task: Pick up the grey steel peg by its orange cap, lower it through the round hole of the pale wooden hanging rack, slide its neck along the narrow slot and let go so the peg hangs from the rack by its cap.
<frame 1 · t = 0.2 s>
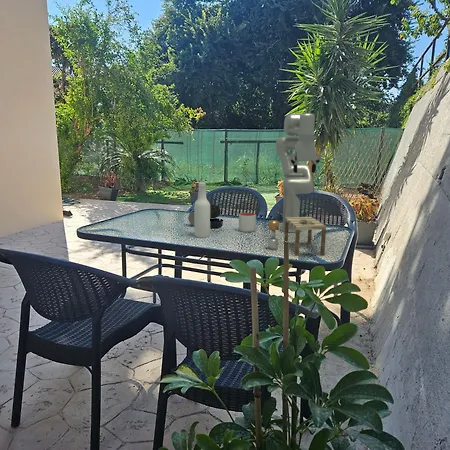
hand: (304, 172, 206), 37 cm above the table, tool pointing down, fingers open, 9 cm apart
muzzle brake: (204, 223, 257), on the table
alcohol: (202, 236, 223), on the table
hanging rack: (303, 249, 199), on the table
cup: (247, 231, 236), on the table
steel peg: (272, 248, 199), on the table
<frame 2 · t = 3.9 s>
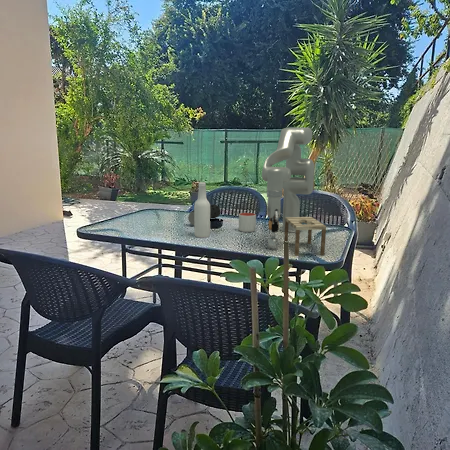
hand: (273, 230, 197), 9 cm above the table, tool pointing down, fingers closed on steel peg, 5 cm apart
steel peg: (272, 248, 199), on the table, touching gripper
everything else where it was.
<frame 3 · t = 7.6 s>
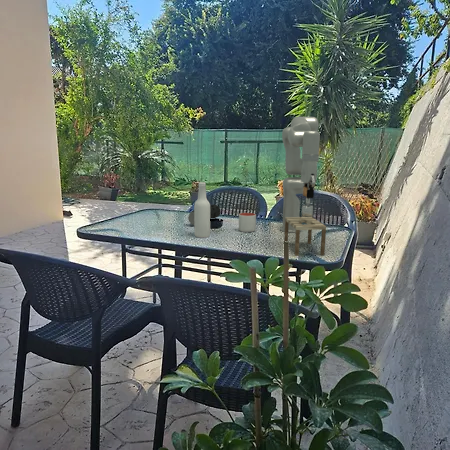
hand: (308, 196, 189), 27 cm above the table, tool pointing down, fingers closed on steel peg, 5 cm apart
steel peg: (307, 216, 191), point 17 cm above the table, touching gripper
everything else where it was.
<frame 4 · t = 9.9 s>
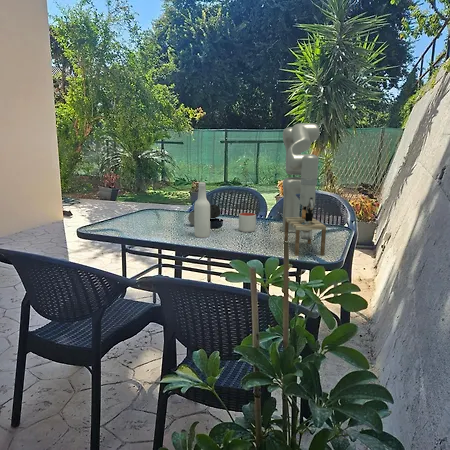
hand: (306, 219, 192), 16 cm above the table, tool pointing down, fingers closed on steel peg, 5 cm apart
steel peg: (305, 238, 194), point 6 cm above the table, touching gripper
everything else where it was.
when the fingers open (16 cm above the table, at t = 11.7 s): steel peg drops 2 cm, resting on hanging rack.
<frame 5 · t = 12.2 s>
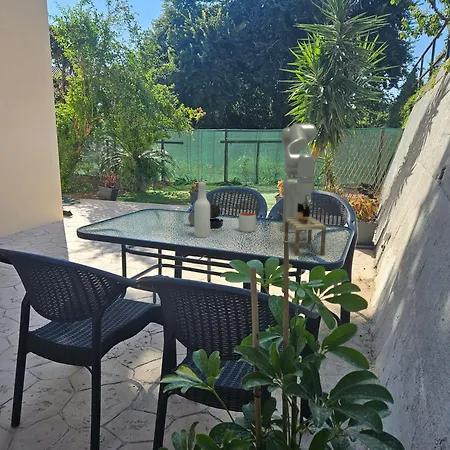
hand: (303, 214, 198), 17 cm above the table, tool pointing down, fingers open, 9 cm apart
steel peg: (301, 239, 201), point 4 cm above the table, touching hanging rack
everything else where it was.
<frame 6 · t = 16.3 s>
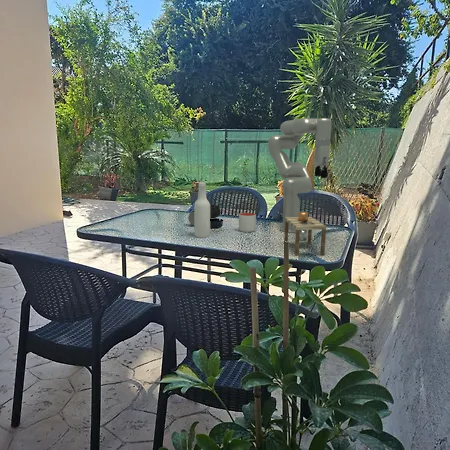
hand: (320, 177, 207), 34 cm above the table, tool pointing down, fingers open, 9 cm apart
nothing on the table moved.
at the end: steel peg 0.1 cm from the target spot on the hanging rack, point 4.0 cm above the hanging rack's base; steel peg touching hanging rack; the gripper is holding nothing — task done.
